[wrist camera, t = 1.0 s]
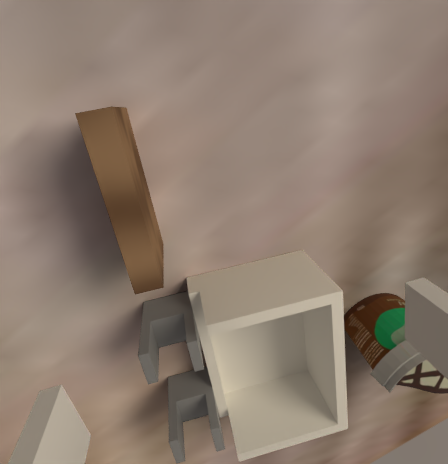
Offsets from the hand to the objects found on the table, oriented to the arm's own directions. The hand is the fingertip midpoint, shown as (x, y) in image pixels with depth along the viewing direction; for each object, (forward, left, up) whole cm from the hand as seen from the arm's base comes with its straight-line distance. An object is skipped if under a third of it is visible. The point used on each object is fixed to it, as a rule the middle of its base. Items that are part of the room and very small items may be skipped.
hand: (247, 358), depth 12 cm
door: (-4, -5, -19) cm, 20 cm away
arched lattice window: (+16, +19, -19) cm, 31 cm away
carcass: (+14, +1, -19) cm, 24 cm away
